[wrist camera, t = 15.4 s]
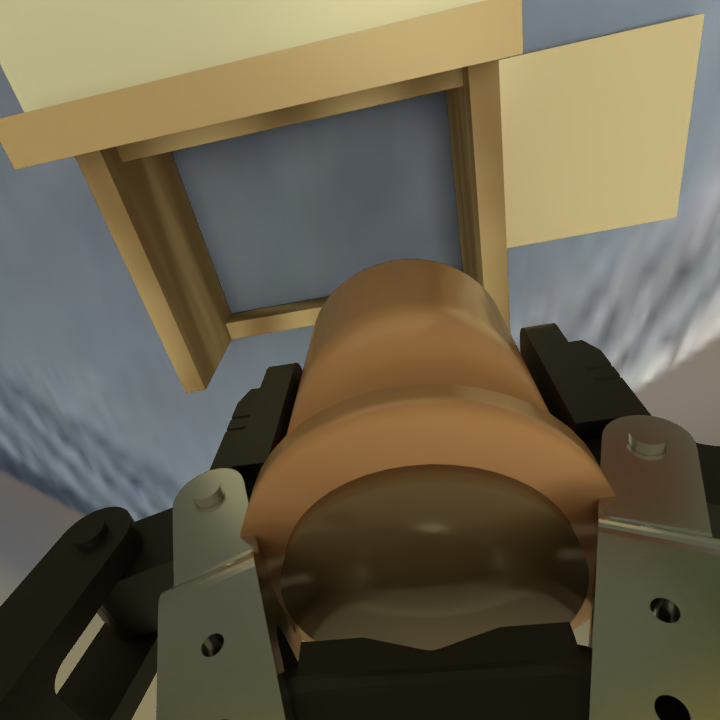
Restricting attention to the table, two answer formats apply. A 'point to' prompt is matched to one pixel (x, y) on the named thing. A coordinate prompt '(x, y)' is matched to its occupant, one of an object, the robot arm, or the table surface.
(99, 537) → the robot arm
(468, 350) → the clay pot
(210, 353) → the open wooden frame
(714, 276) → the table surface
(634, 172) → the stone tile
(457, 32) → the lid
